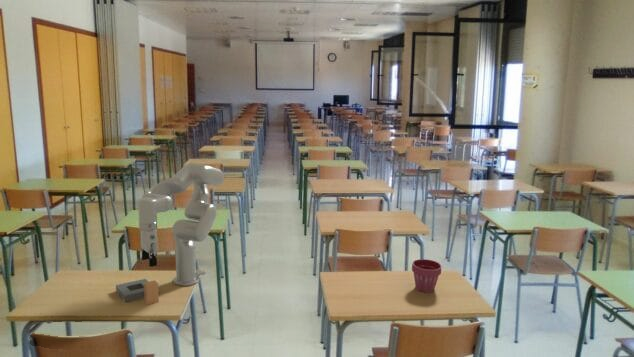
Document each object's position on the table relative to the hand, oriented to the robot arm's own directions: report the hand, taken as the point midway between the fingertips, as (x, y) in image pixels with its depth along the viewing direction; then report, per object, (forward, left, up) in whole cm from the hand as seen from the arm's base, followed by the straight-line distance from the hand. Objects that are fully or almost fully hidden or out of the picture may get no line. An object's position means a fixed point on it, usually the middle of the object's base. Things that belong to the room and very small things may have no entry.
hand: (149, 262), depth 228 cm
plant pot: (-116, +60, -19) cm, 132 cm away
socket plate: (+3, -13, -19) cm, 23 cm away
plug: (0, 0, -19) cm, 19 cm away
